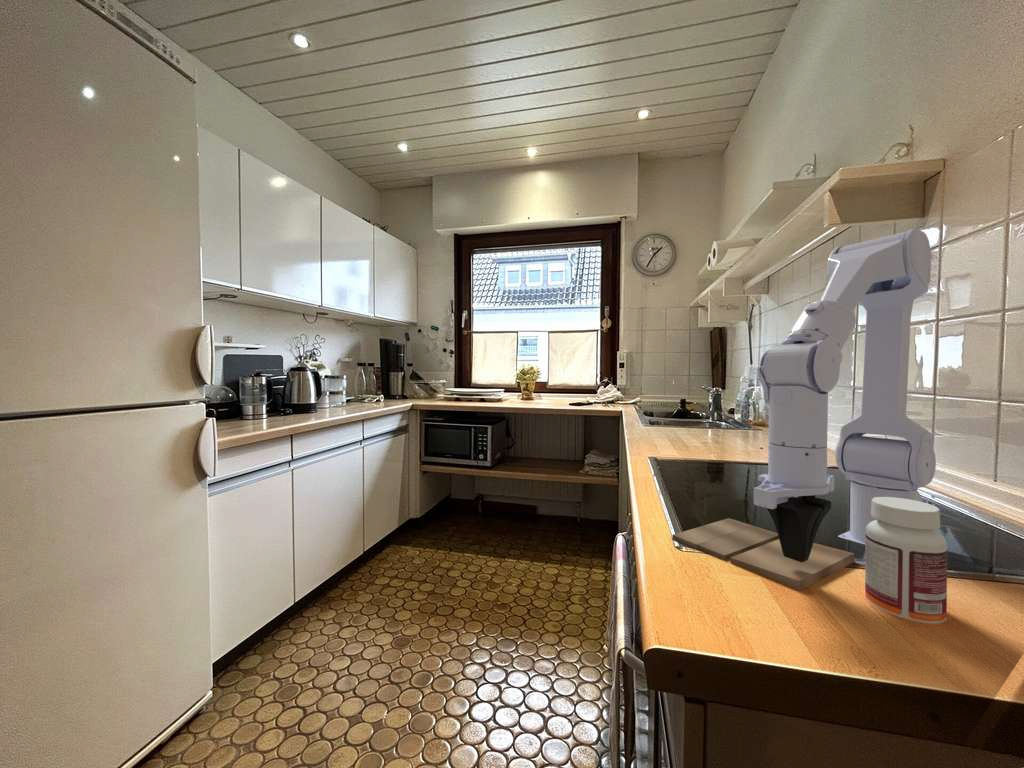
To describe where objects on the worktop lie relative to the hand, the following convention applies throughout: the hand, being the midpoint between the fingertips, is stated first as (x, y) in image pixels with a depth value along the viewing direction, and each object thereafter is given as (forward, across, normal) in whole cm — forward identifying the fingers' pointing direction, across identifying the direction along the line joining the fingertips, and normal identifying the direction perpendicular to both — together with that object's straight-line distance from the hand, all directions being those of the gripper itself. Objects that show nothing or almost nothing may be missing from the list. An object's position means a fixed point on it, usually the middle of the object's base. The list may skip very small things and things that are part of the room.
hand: (795, 558), depth 49 cm
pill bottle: (+3, -3, +9) cm, 10 cm away
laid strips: (+3, -4, -11) cm, 12 cm away
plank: (+3, -4, -2) cm, 5 cm away
